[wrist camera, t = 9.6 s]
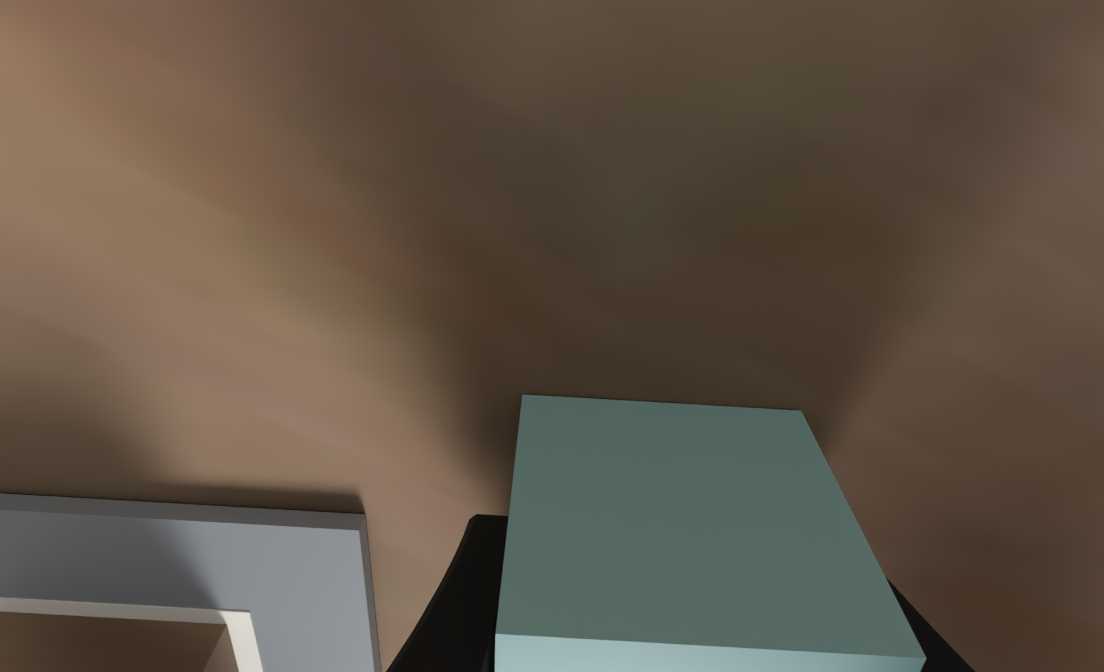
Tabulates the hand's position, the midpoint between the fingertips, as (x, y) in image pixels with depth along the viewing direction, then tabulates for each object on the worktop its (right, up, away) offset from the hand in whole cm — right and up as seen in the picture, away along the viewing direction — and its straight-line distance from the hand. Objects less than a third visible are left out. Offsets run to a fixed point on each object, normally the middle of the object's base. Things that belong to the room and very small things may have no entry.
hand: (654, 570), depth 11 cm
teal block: (0, +1, +1) cm, 1 cm away
